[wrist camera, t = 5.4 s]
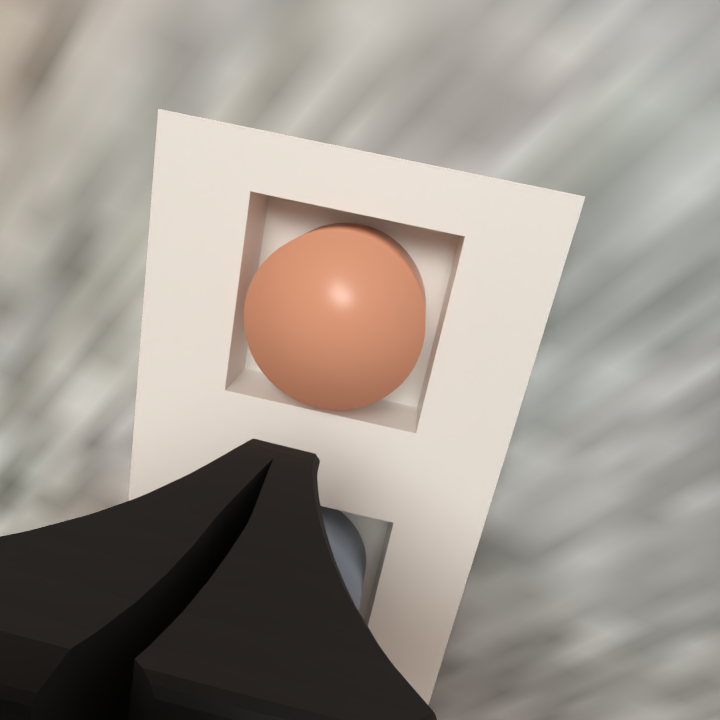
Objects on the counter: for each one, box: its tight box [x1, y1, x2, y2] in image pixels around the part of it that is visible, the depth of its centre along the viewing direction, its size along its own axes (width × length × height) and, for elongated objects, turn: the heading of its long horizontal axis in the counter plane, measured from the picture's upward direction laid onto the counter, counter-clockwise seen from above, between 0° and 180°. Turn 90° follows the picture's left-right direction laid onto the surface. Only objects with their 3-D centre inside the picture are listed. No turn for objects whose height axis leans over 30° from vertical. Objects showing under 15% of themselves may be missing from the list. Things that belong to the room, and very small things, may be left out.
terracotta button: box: [244, 223, 426, 410], centre depth 15 cm, size 4×4×2 cm
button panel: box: [128, 109, 585, 705], centre depth 19 cm, size 10×24×3 cm, turn 169°
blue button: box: [321, 506, 366, 611], centre depth 17 cm, size 4×4×2 cm
